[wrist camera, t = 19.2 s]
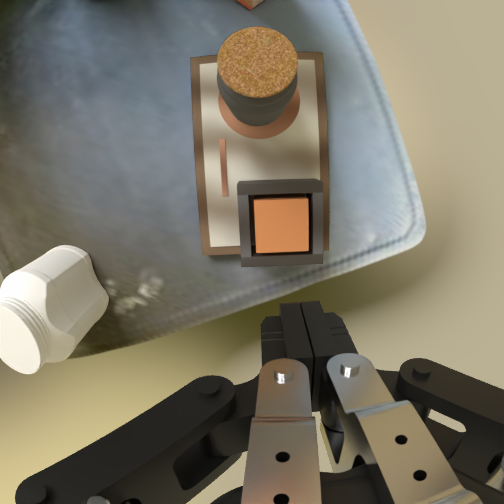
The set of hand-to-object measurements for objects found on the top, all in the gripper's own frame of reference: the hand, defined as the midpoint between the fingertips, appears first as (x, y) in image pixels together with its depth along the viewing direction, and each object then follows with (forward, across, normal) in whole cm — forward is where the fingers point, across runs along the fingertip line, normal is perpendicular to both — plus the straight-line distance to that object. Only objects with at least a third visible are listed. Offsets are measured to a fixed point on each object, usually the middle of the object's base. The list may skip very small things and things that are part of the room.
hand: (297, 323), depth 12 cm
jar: (+25, +27, +9) cm, 38 cm away
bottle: (+23, +1, -12) cm, 26 cm away
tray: (+25, +1, -6) cm, 26 cm away
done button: (+23, -1, +1) cm, 23 cm away
